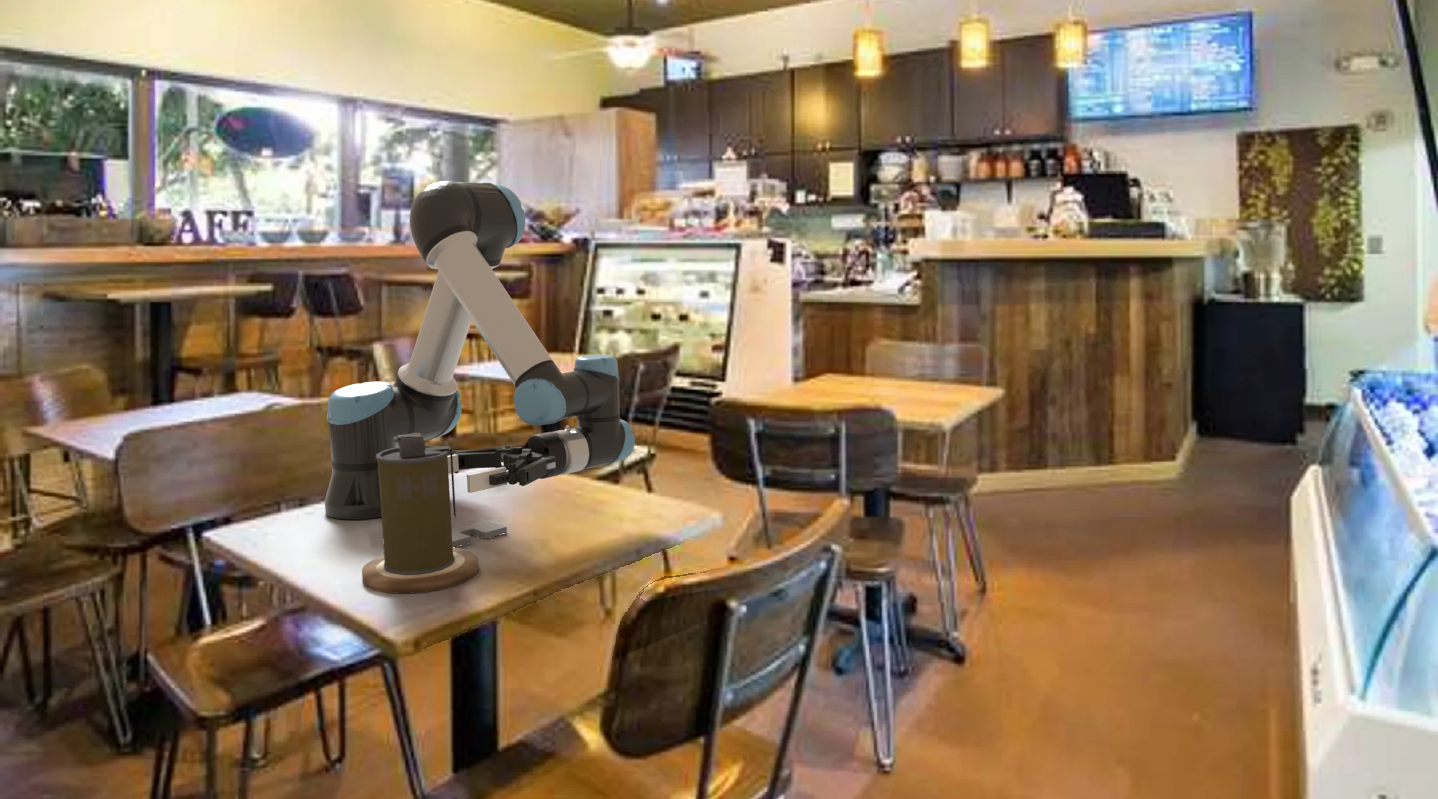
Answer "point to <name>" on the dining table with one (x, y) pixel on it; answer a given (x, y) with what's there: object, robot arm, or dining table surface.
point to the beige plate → (405, 584)
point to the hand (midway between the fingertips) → (443, 476)
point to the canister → (416, 506)
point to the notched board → (476, 532)
